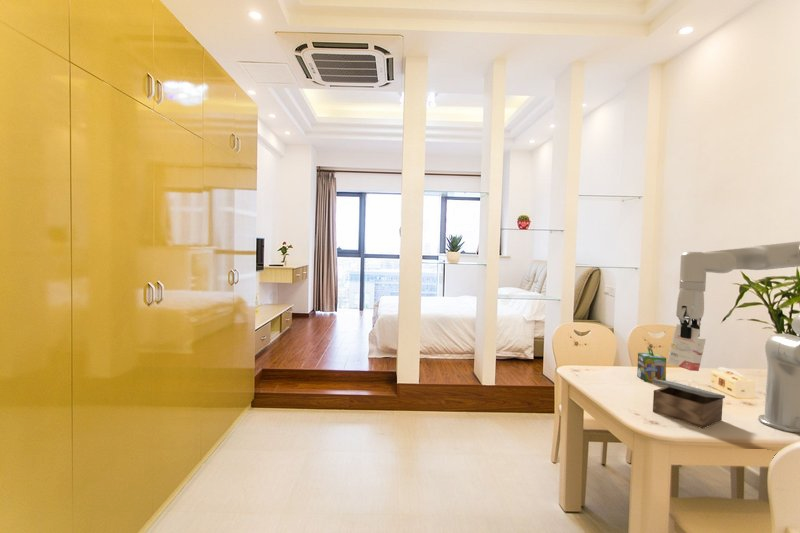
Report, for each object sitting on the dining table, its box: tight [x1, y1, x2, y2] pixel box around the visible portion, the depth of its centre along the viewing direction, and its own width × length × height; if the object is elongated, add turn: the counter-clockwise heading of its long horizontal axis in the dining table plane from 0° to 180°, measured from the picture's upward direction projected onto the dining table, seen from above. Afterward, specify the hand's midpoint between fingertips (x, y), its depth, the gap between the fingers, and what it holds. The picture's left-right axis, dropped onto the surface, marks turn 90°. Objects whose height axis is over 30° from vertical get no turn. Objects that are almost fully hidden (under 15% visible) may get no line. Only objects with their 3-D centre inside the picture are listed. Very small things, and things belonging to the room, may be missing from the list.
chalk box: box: [636, 346, 667, 383], centre depth 189 cm, size 9×9×15 cm
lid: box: [651, 379, 726, 399], centre depth 146 cm, size 17×15×1 cm
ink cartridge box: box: [666, 323, 707, 372], centre depth 145 cm, size 9×5×15 cm, turn 25°
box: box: [652, 386, 724, 429], centre depth 146 cm, size 16×14×8 cm
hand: (689, 336), depth 145 cm, fingers closed on ink cartridge box, 5 cm apart
